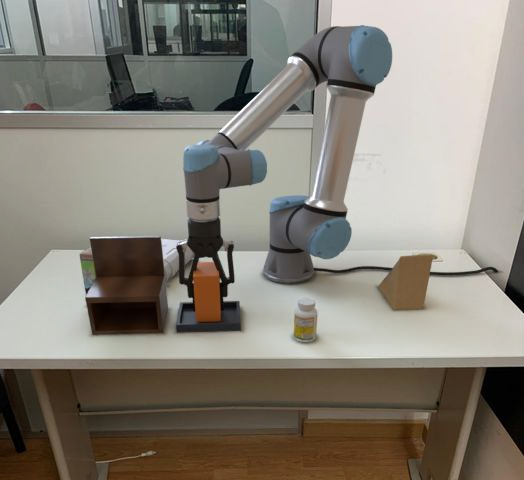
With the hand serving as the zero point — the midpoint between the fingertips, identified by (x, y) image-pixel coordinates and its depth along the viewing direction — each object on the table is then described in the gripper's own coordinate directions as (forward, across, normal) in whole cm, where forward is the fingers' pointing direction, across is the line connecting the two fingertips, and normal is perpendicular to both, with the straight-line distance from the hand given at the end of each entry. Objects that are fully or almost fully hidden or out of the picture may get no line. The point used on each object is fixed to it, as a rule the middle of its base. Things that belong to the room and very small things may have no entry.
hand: (208, 308), depth 133 cm
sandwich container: (+3, +52, +10) cm, 53 cm away
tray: (+3, 0, 0) cm, 3 cm away
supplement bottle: (+3, +23, -10) cm, 26 cm away
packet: (+1, 0, 0) cm, 1 cm away
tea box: (+3, -26, +16) cm, 30 cm away
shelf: (+3, -19, 0) cm, 20 cm away
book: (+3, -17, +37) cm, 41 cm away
